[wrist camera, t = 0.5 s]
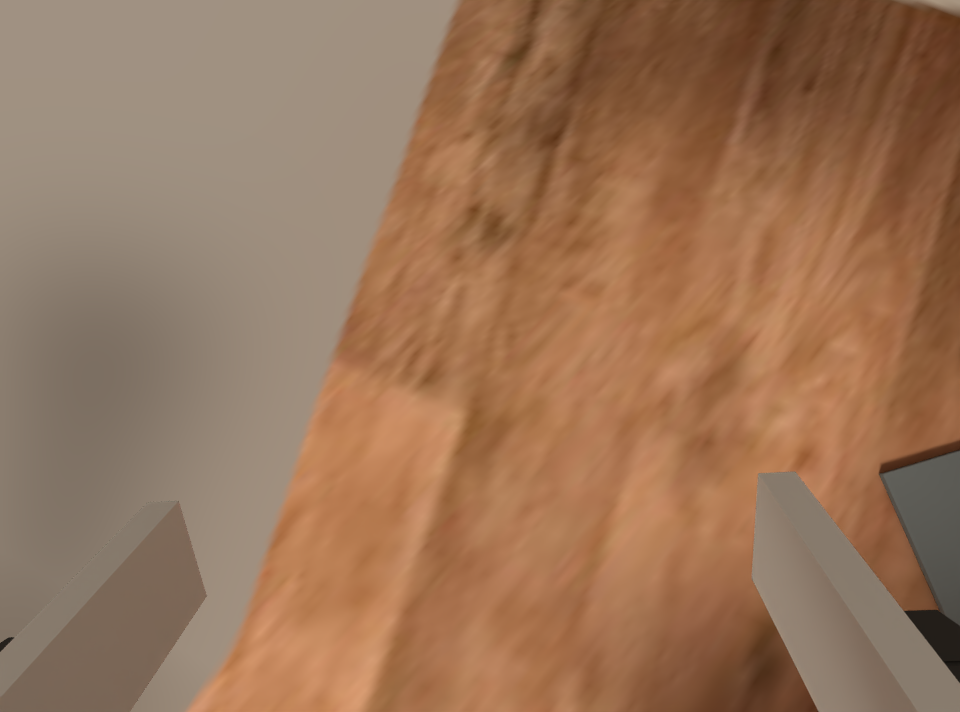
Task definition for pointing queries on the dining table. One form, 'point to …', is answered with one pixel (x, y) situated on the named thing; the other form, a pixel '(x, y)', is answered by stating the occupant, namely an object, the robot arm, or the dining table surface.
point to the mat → (932, 522)
